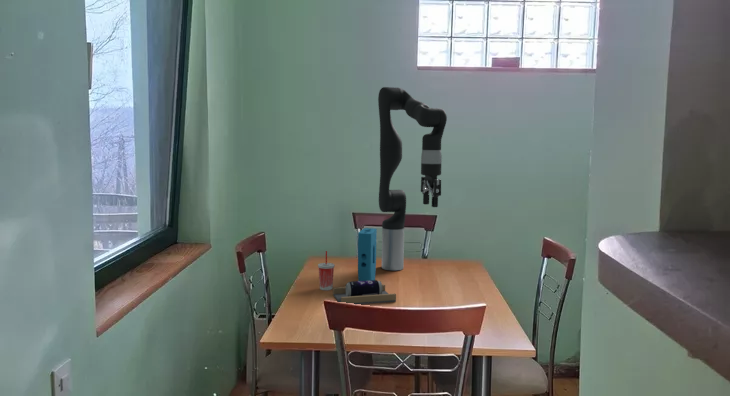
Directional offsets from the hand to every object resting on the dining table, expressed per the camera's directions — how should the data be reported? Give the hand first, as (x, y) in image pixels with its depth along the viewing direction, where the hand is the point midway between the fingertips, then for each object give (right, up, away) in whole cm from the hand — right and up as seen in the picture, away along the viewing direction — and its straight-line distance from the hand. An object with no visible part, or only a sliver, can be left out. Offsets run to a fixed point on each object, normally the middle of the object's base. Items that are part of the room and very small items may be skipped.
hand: (430, 205), depth 228 cm
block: (-24, -30, +5) cm, 38 cm away
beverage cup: (-39, -31, -4) cm, 49 cm away
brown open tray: (-25, -32, -16) cm, 44 cm away
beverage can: (-31, -29, -19) cm, 46 cm away
